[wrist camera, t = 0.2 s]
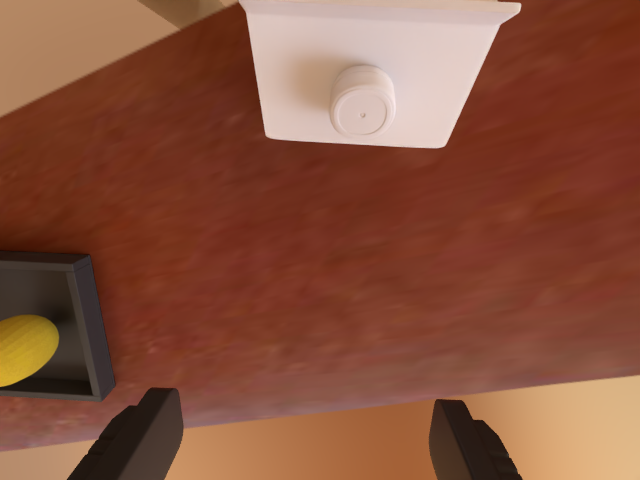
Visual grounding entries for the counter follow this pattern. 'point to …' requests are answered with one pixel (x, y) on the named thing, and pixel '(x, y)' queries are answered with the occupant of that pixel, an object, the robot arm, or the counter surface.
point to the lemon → (25, 346)
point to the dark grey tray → (59, 323)
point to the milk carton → (369, 66)
